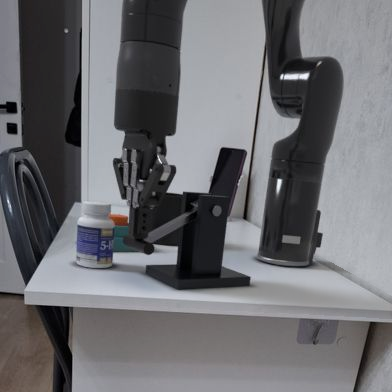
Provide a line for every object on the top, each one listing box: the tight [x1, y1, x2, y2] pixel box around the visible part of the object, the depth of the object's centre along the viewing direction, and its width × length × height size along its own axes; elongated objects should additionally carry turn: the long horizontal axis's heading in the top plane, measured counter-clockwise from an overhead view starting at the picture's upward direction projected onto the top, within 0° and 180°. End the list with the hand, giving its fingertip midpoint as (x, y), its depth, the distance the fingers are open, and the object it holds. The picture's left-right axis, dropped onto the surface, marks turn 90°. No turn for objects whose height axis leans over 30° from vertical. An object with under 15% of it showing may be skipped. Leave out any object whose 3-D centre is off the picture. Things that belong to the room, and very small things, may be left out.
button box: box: [113, 222, 138, 252], centre depth 96 cm, size 10×8×4 cm
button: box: [109, 213, 129, 226], centre depth 95 cm, size 4×4×2 cm
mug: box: [148, 191, 183, 246], centre depth 107 cm, size 9×12×9 cm
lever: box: [123, 199, 198, 256], centre depth 72 cm, size 13×6×2 cm, turn 125°
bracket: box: [145, 191, 252, 290], centre depth 75 cm, size 12×9×12 cm
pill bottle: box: [75, 200, 114, 269], centre depth 79 cm, size 5×5×9 cm
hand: (137, 237), depth 70 cm, fingers closed
